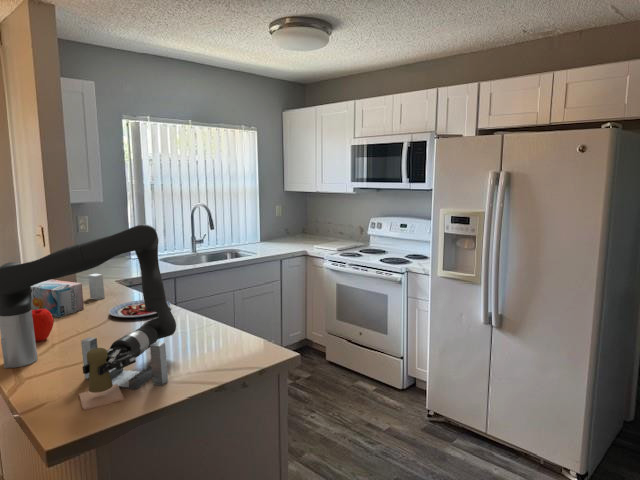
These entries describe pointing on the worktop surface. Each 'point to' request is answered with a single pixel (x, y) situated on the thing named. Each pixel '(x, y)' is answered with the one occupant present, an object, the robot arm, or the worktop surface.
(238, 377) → the worktop surface
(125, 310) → the ceramic plate
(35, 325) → the apple
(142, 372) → the grey u-shaped stand
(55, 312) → the soda box
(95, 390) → the cork
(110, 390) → the tile
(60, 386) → the worktop surface
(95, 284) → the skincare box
